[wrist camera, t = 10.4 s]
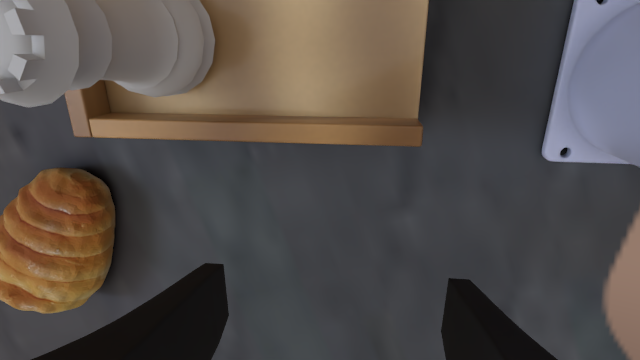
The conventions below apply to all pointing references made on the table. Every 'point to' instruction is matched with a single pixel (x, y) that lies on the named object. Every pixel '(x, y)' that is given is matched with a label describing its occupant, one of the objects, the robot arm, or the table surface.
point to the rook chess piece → (101, 47)
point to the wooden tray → (284, 79)
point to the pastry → (56, 241)
